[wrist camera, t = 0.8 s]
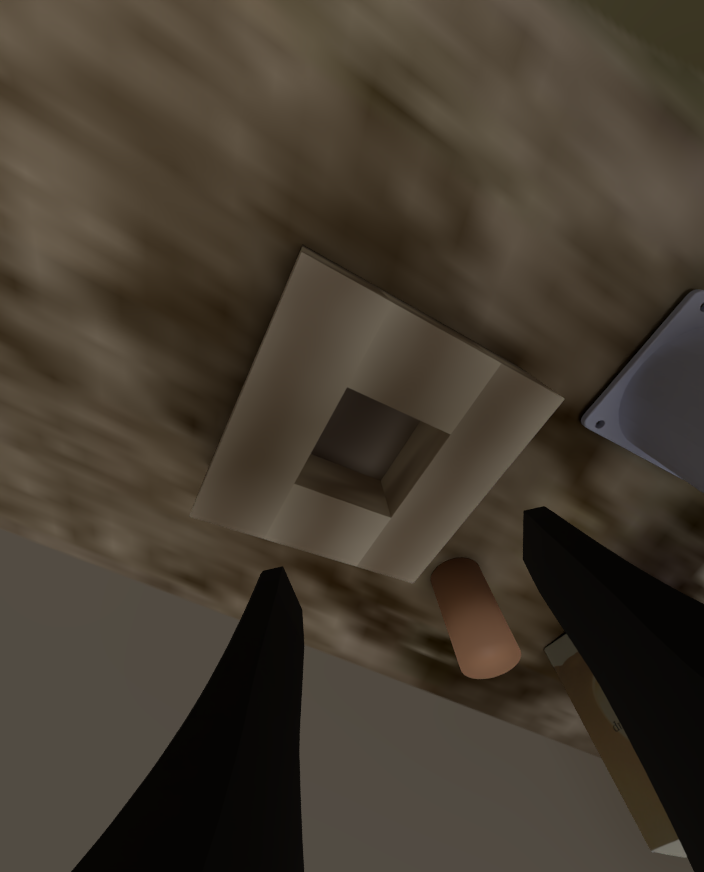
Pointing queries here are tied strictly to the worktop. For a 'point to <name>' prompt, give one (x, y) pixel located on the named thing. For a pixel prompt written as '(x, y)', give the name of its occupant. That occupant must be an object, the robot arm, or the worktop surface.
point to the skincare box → (614, 747)
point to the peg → (474, 620)
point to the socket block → (366, 427)
